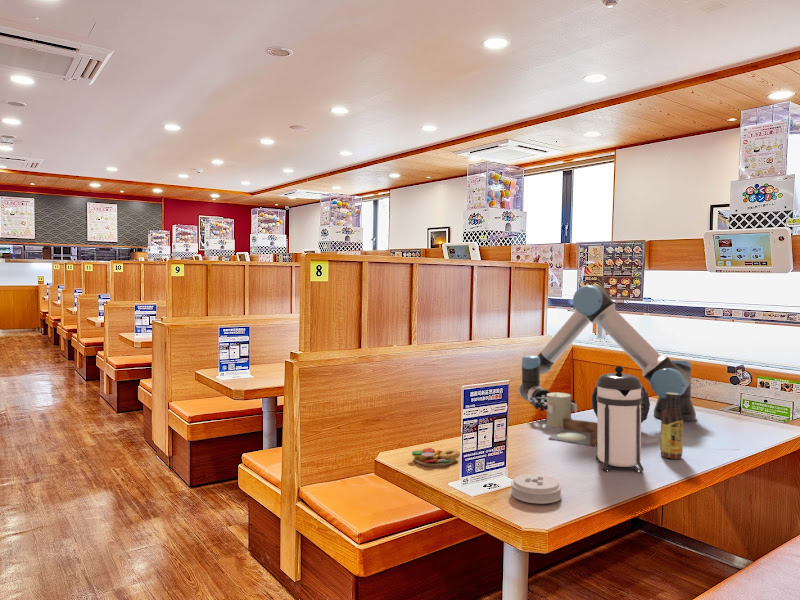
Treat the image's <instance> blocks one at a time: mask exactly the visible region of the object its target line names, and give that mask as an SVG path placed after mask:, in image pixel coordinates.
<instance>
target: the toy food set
mask: <svg viewBox="0 0 800 600" xmlns="http://www.w3.org/2000/svg"><path fill="white" fill-rule="evenodd" d="M411 453H412V455H411V456H413V457H414V458H413V460H414V461H415V462H416V463H418V464H419V465H421V466H425V467H433V468H438V467H439V468H441V467H446V466H449V465H452V464H453V463H454V462H455V461H456V460H457V459H458V458H460V457H461V452H460V450H458V449H453V448H452V449H447V450H445V451H444V450H443V451H442V450H439V449H438V450H435V448H432V447H427V448H424V449H422V450H414V451H412V452H411Z"/></svg>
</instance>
